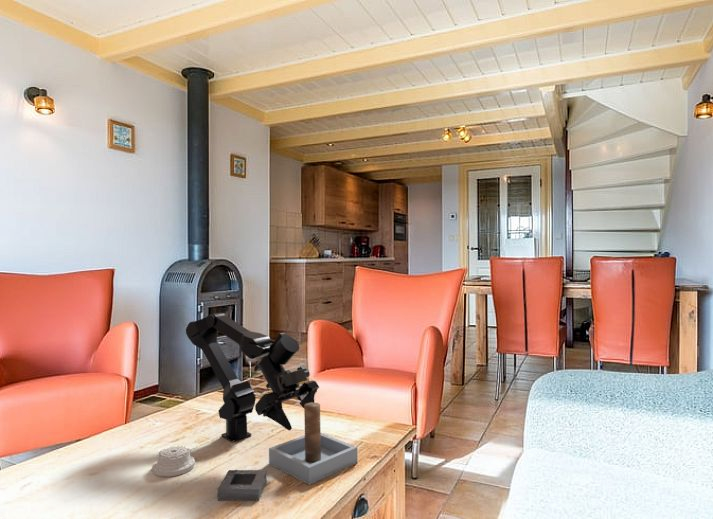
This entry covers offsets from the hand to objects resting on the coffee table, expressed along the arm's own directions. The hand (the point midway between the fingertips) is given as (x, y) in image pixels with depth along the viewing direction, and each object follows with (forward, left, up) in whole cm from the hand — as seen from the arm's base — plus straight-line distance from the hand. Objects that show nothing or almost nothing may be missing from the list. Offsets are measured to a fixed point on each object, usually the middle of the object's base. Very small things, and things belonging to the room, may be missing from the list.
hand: (303, 424), depth 124 cm
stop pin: (+3, 0, -8) cm, 9 cm away
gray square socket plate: (+2, -20, -9) cm, 22 cm away
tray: (+3, 0, -9) cm, 10 cm away
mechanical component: (-20, -26, -10) cm, 34 cm away
